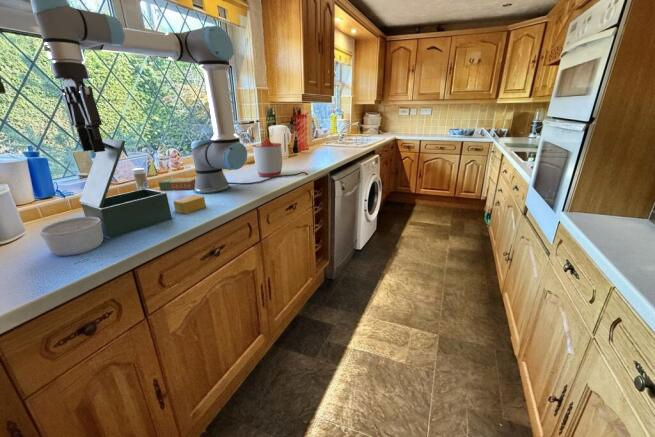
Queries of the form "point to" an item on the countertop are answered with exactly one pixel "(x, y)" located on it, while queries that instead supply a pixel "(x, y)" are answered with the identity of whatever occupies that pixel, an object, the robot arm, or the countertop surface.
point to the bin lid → (102, 173)
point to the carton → (177, 183)
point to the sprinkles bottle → (140, 178)
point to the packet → (189, 204)
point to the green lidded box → (130, 212)
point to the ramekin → (73, 235)
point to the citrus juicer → (268, 158)
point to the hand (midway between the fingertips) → (94, 150)
